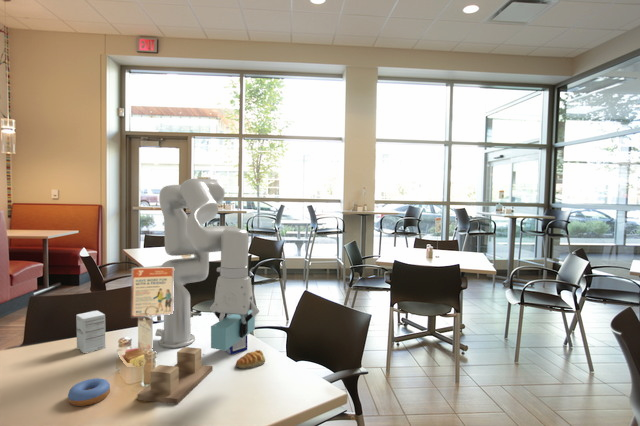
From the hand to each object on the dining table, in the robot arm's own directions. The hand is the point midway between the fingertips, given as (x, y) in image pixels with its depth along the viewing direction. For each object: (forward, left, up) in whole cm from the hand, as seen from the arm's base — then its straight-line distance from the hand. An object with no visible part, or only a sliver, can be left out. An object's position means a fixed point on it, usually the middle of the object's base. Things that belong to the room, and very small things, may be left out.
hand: (234, 334), depth 108 cm
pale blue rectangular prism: (0, 0, -1) cm, 1 cm away
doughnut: (-37, -12, -17) cm, 42 cm away
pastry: (-1, +17, -17) cm, 24 cm away
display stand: (-18, 0, -16) cm, 24 cm away
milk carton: (-12, +27, -16) cm, 33 cm away
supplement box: (-63, +17, -16) cm, 67 cm away
